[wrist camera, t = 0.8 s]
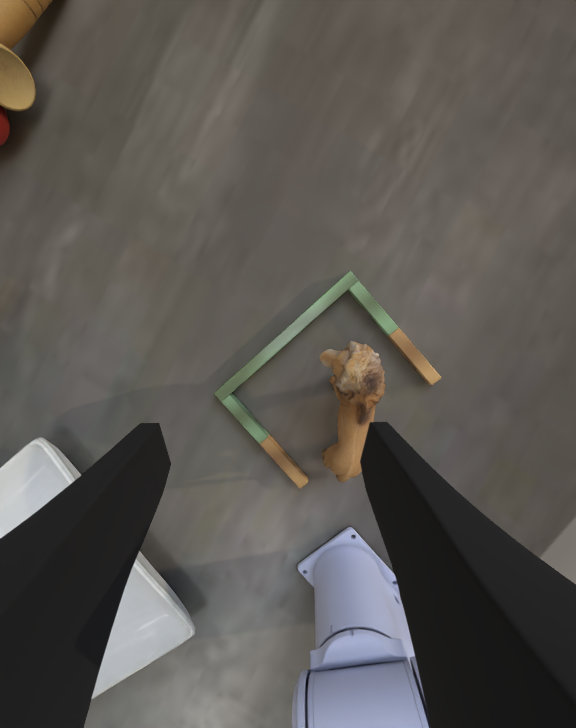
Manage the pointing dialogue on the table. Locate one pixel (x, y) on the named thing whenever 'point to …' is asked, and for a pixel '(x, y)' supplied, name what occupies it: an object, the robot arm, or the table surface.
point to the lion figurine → (352, 404)
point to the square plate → (144, 586)
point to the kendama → (15, 58)
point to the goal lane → (293, 330)
